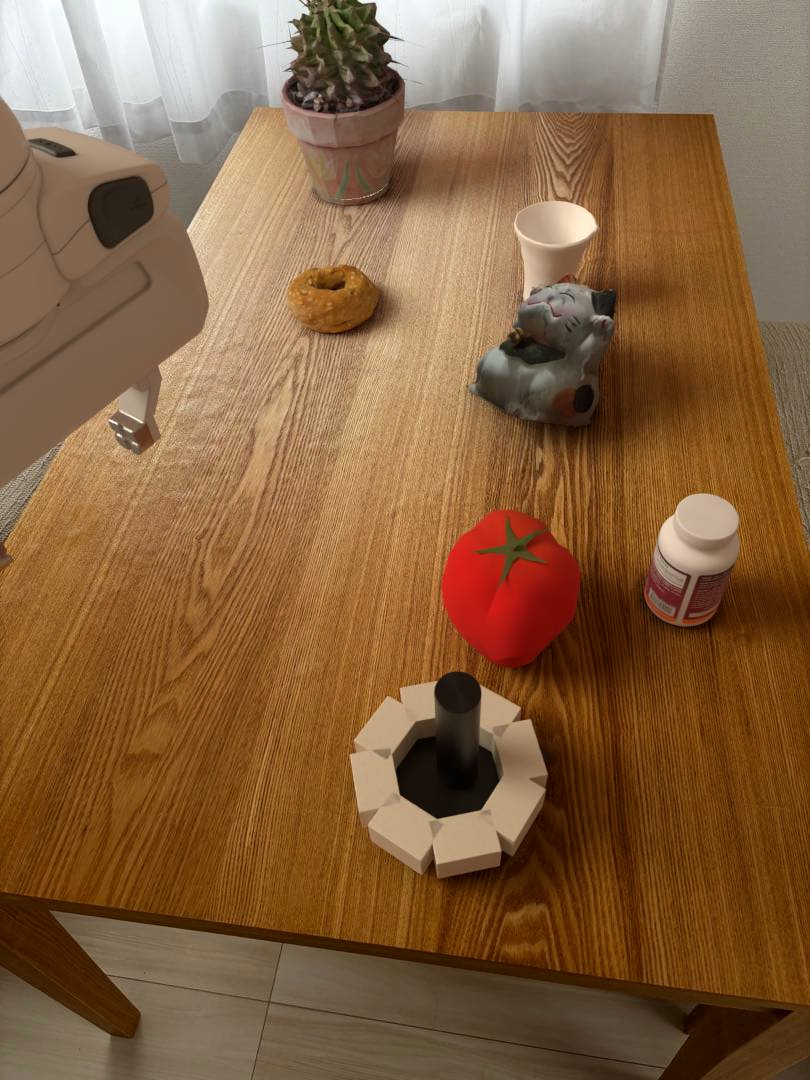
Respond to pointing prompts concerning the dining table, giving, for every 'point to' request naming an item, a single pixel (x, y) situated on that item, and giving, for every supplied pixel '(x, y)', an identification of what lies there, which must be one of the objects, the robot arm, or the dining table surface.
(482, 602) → the tomato
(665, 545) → the pill bottle
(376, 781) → the ring
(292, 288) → the bagel
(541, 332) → the lucky cat figurine
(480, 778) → the post
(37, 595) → the dining table surface
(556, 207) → the cup
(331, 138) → the potted plant
